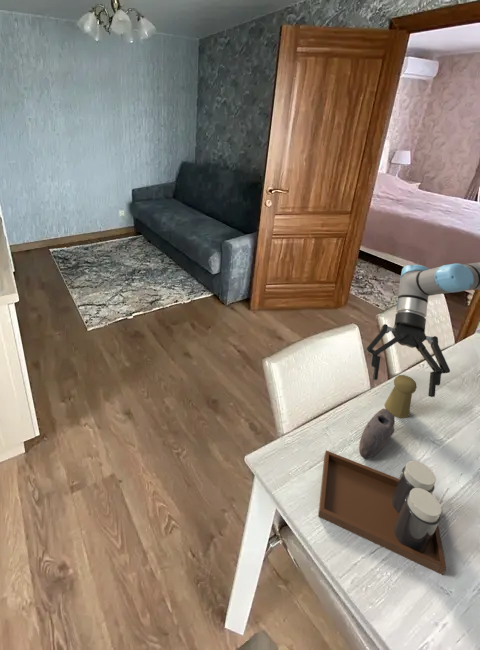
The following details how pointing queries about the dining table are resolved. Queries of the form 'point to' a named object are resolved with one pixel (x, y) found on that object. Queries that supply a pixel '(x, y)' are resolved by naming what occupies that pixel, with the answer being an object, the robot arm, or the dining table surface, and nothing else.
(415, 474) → the shaker
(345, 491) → the spice tray
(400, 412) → the cork
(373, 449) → the perforated stone tool
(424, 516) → the shaker
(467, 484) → the dining table surface
